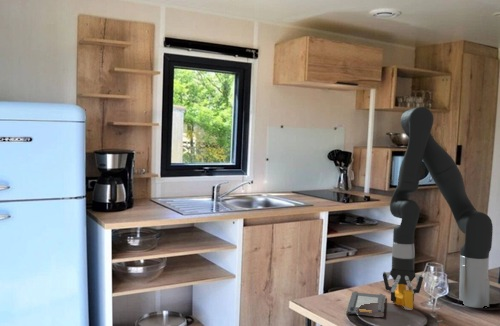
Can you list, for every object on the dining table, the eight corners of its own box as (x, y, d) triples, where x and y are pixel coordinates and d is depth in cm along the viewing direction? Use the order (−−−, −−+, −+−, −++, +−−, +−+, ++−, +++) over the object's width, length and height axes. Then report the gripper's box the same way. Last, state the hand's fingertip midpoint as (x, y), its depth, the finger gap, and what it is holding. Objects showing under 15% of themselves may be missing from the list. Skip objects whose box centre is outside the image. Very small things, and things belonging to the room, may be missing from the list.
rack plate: (385, 297, 173) (385, 292, 173) (384, 318, 152) (384, 312, 152) (352, 294, 177) (352, 289, 177) (346, 314, 156) (346, 308, 156)
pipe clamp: (391, 299, 172) (392, 281, 172) (403, 299, 172) (404, 282, 172) (399, 310, 160) (400, 291, 160) (412, 310, 160) (413, 291, 160)
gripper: (424, 254, 167) (422, 302, 167) (382, 251, 171) (381, 297, 171) (425, 259, 160) (424, 308, 160) (381, 255, 164) (380, 304, 164)
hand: (401, 302), depth 166 cm, fingers closed on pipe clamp, 5 cm apart
